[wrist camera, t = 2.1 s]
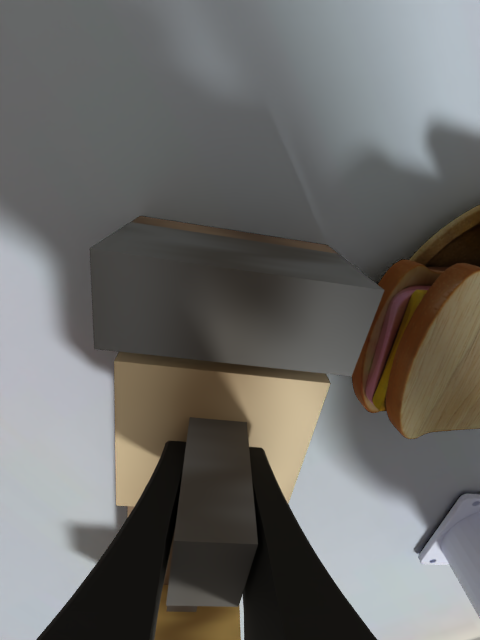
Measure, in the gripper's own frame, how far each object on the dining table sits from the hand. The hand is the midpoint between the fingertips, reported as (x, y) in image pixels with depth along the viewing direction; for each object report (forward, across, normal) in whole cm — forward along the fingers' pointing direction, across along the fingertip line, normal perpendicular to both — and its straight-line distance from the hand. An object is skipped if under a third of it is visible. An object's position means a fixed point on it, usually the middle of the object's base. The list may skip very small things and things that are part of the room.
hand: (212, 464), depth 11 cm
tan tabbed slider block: (+4, 0, 0) cm, 4 cm away
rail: (+6, 0, +7) cm, 9 cm away
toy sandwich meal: (+6, -13, -4) cm, 15 cm away
